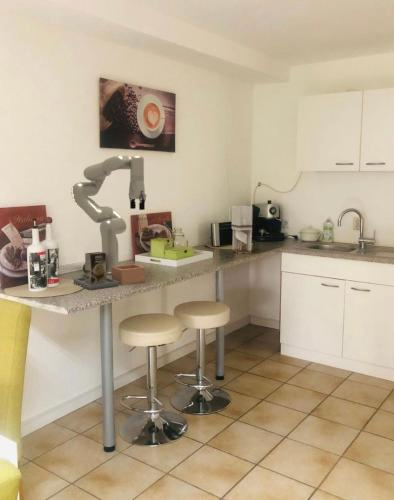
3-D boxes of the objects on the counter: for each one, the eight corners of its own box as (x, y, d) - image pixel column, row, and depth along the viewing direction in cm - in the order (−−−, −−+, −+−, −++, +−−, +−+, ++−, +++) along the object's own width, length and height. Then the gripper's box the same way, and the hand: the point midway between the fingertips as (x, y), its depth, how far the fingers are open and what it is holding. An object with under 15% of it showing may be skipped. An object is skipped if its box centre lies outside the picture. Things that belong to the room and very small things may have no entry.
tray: (73, 283, 265) (73, 278, 264) (100, 279, 274) (100, 275, 274) (90, 290, 249) (90, 285, 249) (118, 286, 259) (118, 281, 258)
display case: (231, 252, 375) (232, 205, 369) (242, 251, 380) (244, 205, 374) (239, 254, 365) (240, 206, 359) (251, 253, 370) (252, 206, 364)
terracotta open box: (111, 281, 270) (111, 266, 269) (134, 278, 279) (134, 264, 278) (122, 285, 261) (121, 270, 260) (145, 281, 270) (145, 267, 269)
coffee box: (91, 285, 256) (91, 254, 254) (85, 283, 261) (84, 253, 258) (106, 282, 263) (106, 252, 260) (99, 280, 267) (99, 251, 265)
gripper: (123, 178, 281) (123, 208, 284) (139, 178, 268) (139, 210, 270) (134, 178, 286) (135, 208, 289) (151, 178, 272) (151, 210, 275)
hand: (137, 209), depth 280 cm, fingers open, 9 cm apart
